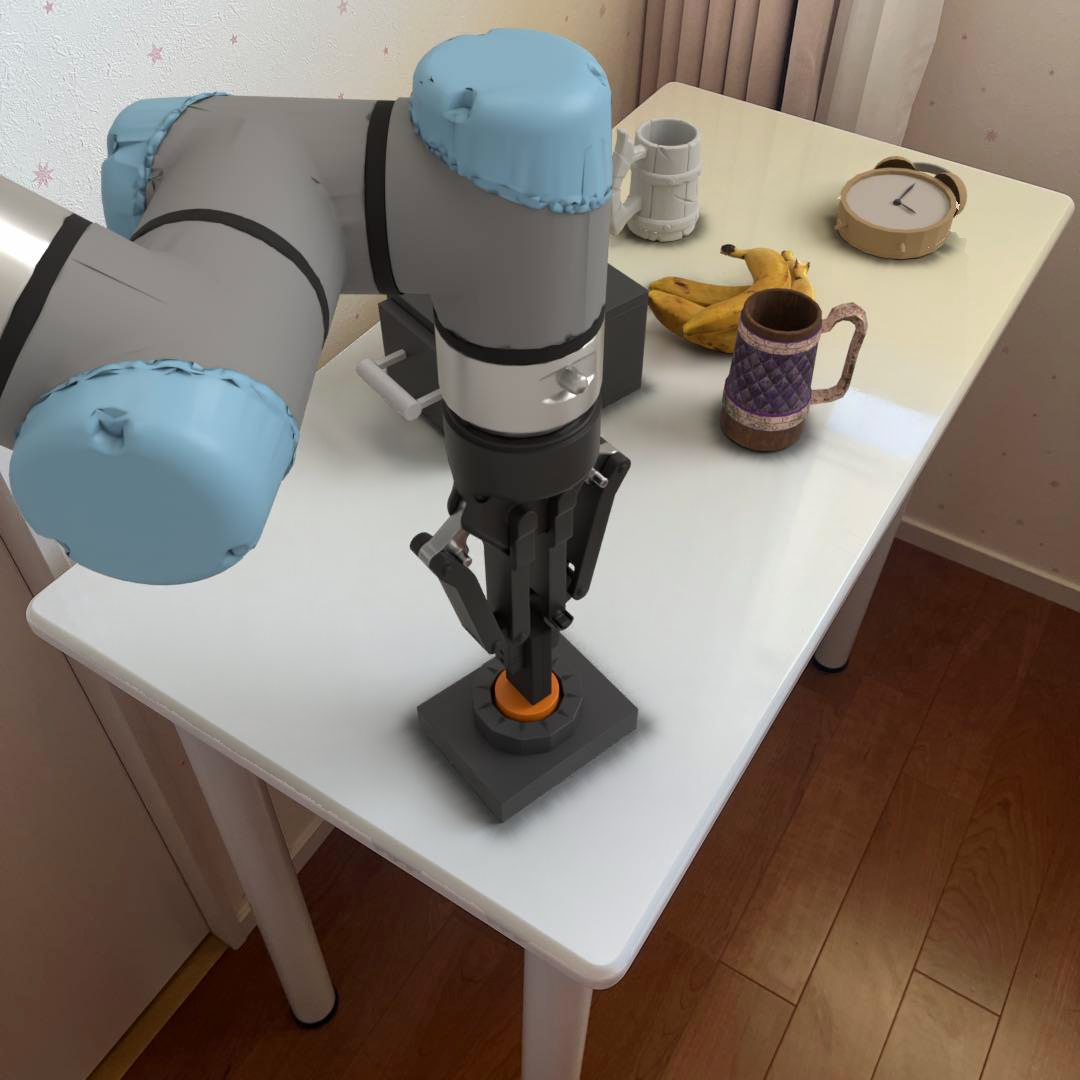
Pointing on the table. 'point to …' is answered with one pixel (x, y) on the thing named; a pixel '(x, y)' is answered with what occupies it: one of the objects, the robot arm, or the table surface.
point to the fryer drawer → (405, 365)
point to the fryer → (620, 331)
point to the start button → (524, 702)
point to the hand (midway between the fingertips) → (528, 685)
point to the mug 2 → (781, 367)
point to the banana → (723, 297)
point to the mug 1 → (657, 179)
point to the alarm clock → (900, 208)
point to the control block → (526, 730)
